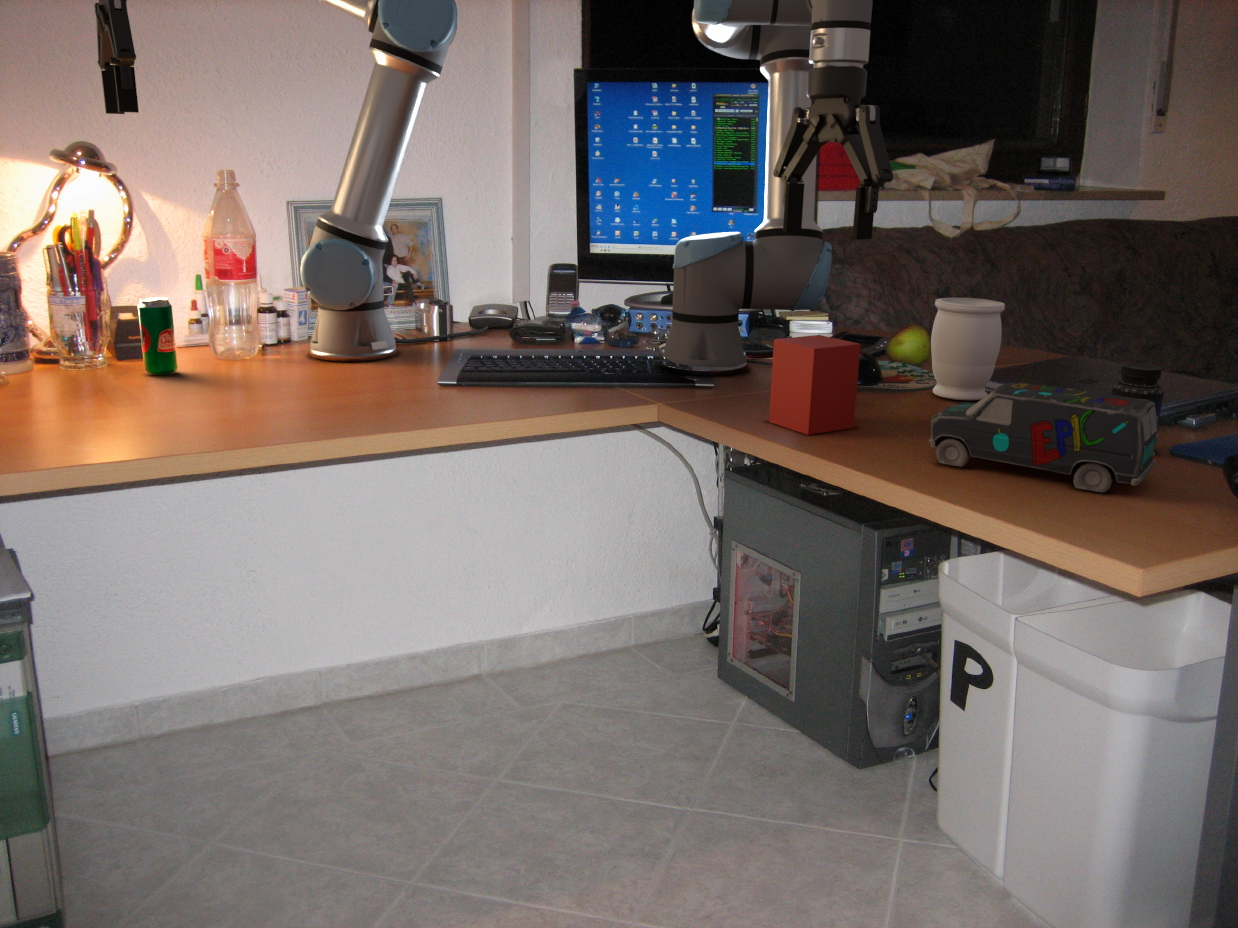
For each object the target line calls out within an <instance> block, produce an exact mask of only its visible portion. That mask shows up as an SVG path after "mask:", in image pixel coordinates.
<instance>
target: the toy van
mask: <svg viewBox="0 0 1238 928" xmlns="http://www.w3.org/2000/svg"><path fill="white" fill-rule="evenodd" d="M987 394H988V395H987V396H986V397H984V398H983V399H981V400H978V401H977V402H968V401H963V402H959V403H957V404H954V405H951V406H948V407H946V408H944V409H942V410H941V411H938V412H937V413H936V414H934V415H932V416H931V420H930V438H928V442H929V445H930V448H935V449H936V450H935V458H936V459H937V461H938V463H940V464H944V465H948V466H954V467H961V468H962V467H964V466H966V465H967V463H968V462H969V460H970V457H972V458H976V459H977V458H978V459H983V460H987V461H994V462H1000V463H1004V464H1005V463H1006V464H1009V465H1010V464H1011V465H1017V466H1022V467H1027V468H1033V469H1038V470H1043V471H1048V472H1052V473H1053V472H1054V473H1058V474H1063V475H1068V476H1071V475H1073V474H1074V475H1073V480H1072V481H1073V482H1072V483H1073V485H1074V488H1075V489H1079V490H1085V491H1091V492H1096V493H1106V492H1107V491H1109V490H1110V488H1111V487H1112V484H1113V482H1114V481H1116V483H1118V484H1119V483H1121V484H1128V485H1131V486H1138V485H1140V483H1142V482H1143V481H1144V480H1145V479H1146V477H1147V476H1148V475H1149V473H1150V472H1151V471H1152V470H1153V468H1155V467H1154V466H1155V465H1156V463H1157V461H1156V460H1155V459H1154V456H1155V455H1156V452H1155V450H1156V444H1157V440H1158V437H1159V433H1158V431H1159V430H1157V421H1156V410H1155V403H1154V402H1152V401H1148V400H1141V399H1135V398H1128V397H1122V396H1115V395H1111V394H1108V393H1101V392H1095V391H1089V390H1082V389H1075V388H1070V387H1069V388H1067V387H1060V386H1053V385H1046V384H1037V383H1035V384H1034V383H1025V382H1007V383H1004V384H1001V385H999V386H997V387H996V388H995V389H994V390H992V391H991V392H990V393H987Z"/></svg>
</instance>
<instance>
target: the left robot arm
mask: <svg viewBox="0 0 1238 928" xmlns="http://www.w3.org/2000/svg"><path fill="white" fill-rule="evenodd" d="M317 1H318V2H320V3H322V4H324V5H326V6H329V7H331V8H333V9H335V10H336V11H339V12H341V13H343V14H345V15H349V16H350V17H352V18H354V19H356V20H358V21H361V22H362V23H363V24H364V27H365V29H366V31H367V32H370V33H371V34H372V35H371V39H370V42H369V46H368V51H369V54H370V55H371V57H372V60H373V68H372V70H371V74H370V78H369V81H368V85H367V87H366V88H367V89H366V91H365V94H364V98H363V101H362V104H361V108H360V111H359V115H358V118H357V121H356V124H355V128H354V131H353V135H352V138H351V141H350V145H349V148H348V150H347V155H346V158H345V161H344V164H343V167H342V171H341V173H340V174H341V175H340V177H339V180H338V181H339V182H338V184H337V188H336V191H335V195H334V198H333V201H332V205H331V208H330V209H329V210H327V211H325V212H323V213H321V214H319V215H318V217H317V221H316V224H315V227H314V229H313V234H312V236H311V240H310V244H309V248H308V249H306V251H305V253H304V254H303V256H302V258H301V261H300V267H299V271H300V273H299V274H300V280H301V284H302V286H303V288H304V290H305V292H306V293H307V295H308V297H310V298H311V299H312V300H313V301H314V302H315V303H316V304H317V310H318V311H317V316H316V321H315V323H314V327H313V331H312V335H311V338H310V342H309V355H310V356H311V357H312V358H314V359H317V360H323V361H331V362H366V361H376V360H382V359H387V358H390V357H394V356H395V355H396V354H397V344H408V345H409V344H418V343H427V342H433V341H434V342H435V341H439V340H447V339H453V338H462V337H469V336H475V335H478V334H482V333H484V332H485V331H487V330H488V326H486V327H484V326H483V327H484V328H483V329H481V328H477V329H473V330H468V331H461V332H453V333H447V334H448V335H444V334H440V335H441V336H438V335H431V336H426V337H425V336H424V337H418V338H417V337H415V338H395V337H394V333H393V331H392V329H391V325H390V323H389V320H388V317H387V314H386V311H385V294H384V293H385V292H384V270H383V268H384V267H383V258H384V255H385V252H386V249H387V245H388V242H389V238H388V237H387V234H386V232H385V230H384V224H385V221H386V218H387V217H386V216H387V214H388V211H389V207H390V204H391V201H392V198H393V194H394V192H395V188H396V185H397V182H398V179H399V175H400V172H401V169H402V166H403V163H404V160H405V156H406V153H407V150H408V147H409V144H410V140H411V138H412V134H413V131H414V128H415V124H416V121H417V117H418V115H419V111H420V109H421V105H422V102H423V99H424V96H425V92H426V89H427V86H428V84H430V83H432V82H433V81H435V80H437V79H439V78H440V77H441V74H442V71H443V68H444V64H445V61H446V59H447V56H448V52H449V48H450V46H451V44H452V43H453V42H454V39H455V37H456V35H457V31H458V17H459V16H458V8H457V2H456V1H455V0H317ZM127 2H128V0H98V2H95V3H94V6H93V7H94V14H95V20H96V39H97V40H96V43H97V64H98V67H99V68H100V74H101V83H102V91H103V101H104V110H105V114H107V115H108V114H109V115H126V114H125V113H135V114H137V113H140V112H139V102H138V101H139V100H138V91H137V81H136V71H135V61H136V59H137V54H136V51H135V45H134V40H133V34H132V30H131V24H130V19H129V12H128V7H127V5H128V4H127Z"/></svg>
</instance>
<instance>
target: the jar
mask: <svg viewBox="0 0 1238 928" xmlns="http://www.w3.org/2000/svg"><path fill="white" fill-rule="evenodd" d="M934 301H935V302H934V306H935V307H936V308H937V312H936V315H935V318H934V320H933V325H932V328H931V329H932V330H931V336H930V353H931V370H932V374H933V377H934V380H935V382H936V384H935V386H934V387H933V388H932V393H933V394H934V395H935V396H938V397H940V398H944V399H950V400H956V401H980V400H982V399H983V398H984V397H986V396H987V395H988V394H989V393H988V392H987V393H986V392H985V389H986V386H987V385H988V383H989V382H990V381H991V379H992V376H993V375H994V371H995V367H996V362H997V360H998V357H999V355H1000V350H1001V343H1002V338H1003V337H1002V334H1003V333H1002V331H1003V325H1002V319H1001V313H1002V312H1004V311H1005V309H1006V304H1005V302H1001V301H997V300H992V299H988V298H987V299H986V298H978V297H977V298H976V297H941V298H937V299H935V300H934Z"/></svg>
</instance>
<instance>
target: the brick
mask: <svg viewBox="0 0 1238 928" xmlns="http://www.w3.org/2000/svg"><path fill="white" fill-rule="evenodd" d="M772 350H773V355H772V367H771V383H770V384H771V385H770V398H769V399H770V400H769V417H768V418H769V419H768V422H769V423H771V424H774V425H777V426H780V427H784V428H786V429H789V430H792V431H794V432H798V433H801V434H804V435H806V436H810V435H817V434H818V435H819V434H823V433H829V432H835V431H837V432H838V431H843V430H849V429H854V426H855V417H856V416H855V415H856V406H857V405H856V403H857V393H858V392H857V391H858V381H859V367H860V358H861V357H860V356H861V343H858V342H853V341H849V340H846V339H845V340H844V339H841V338H838V339H836V338H831V336H826V335H823V334H813V335H805V336H804V335H803V336H795V337H782V338H774V339H773V349H772Z"/></svg>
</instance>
